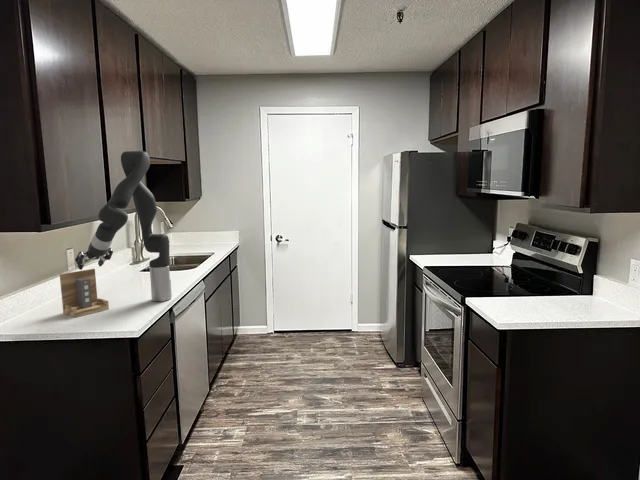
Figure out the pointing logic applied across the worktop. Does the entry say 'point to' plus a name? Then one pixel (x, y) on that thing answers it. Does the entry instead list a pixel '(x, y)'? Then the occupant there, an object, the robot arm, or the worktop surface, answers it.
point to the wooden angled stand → (71, 294)
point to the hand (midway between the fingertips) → (89, 266)
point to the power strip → (83, 293)
